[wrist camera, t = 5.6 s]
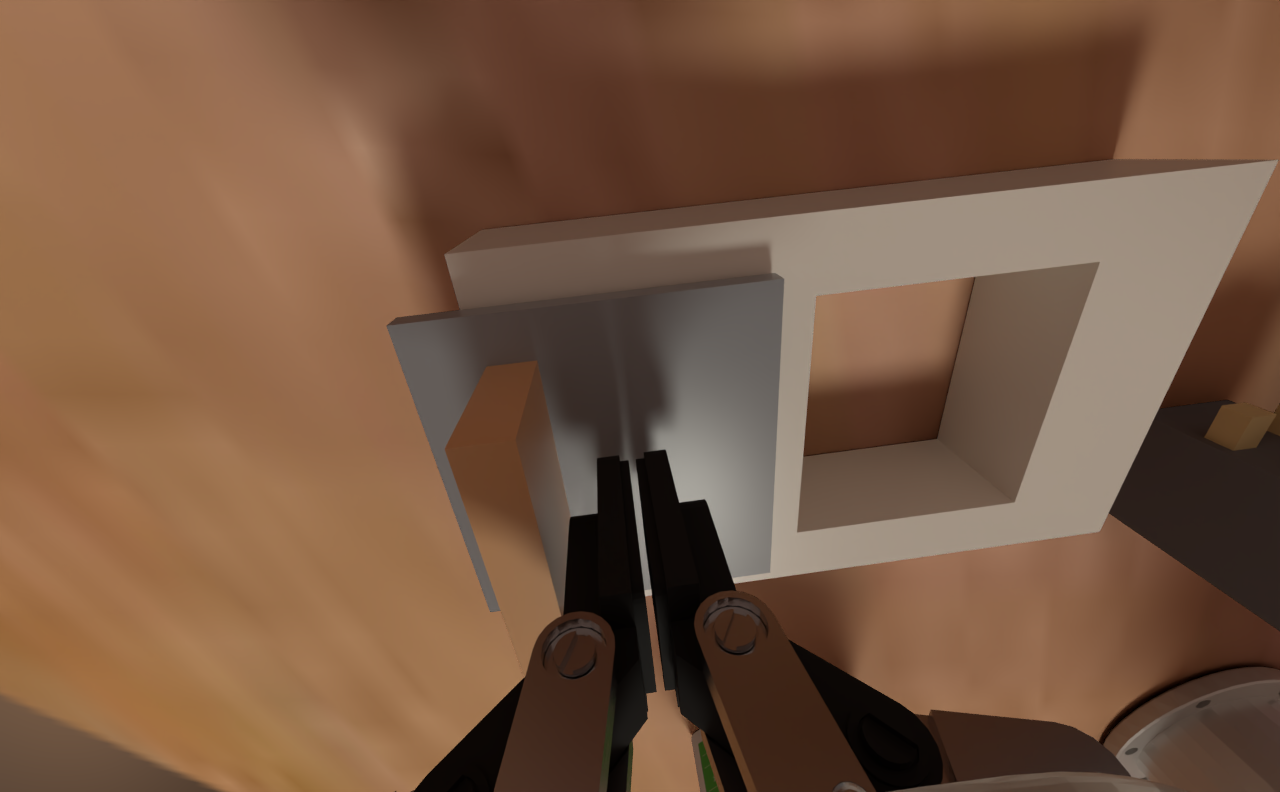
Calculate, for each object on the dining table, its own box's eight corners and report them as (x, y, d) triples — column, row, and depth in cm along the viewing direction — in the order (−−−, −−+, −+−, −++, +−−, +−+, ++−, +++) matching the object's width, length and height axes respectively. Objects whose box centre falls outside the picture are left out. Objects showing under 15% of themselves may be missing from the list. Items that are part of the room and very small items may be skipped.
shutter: (775, 273, 11) (862, 328, 8) (763, 558, 16) (816, 680, 12) (396, 317, 11) (297, 397, 7) (493, 596, 15) (462, 733, 12)
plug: (1243, 369, 19) (1555, 471, 13) (1175, 492, 22) (1403, 622, 16) (1150, 381, 19) (1421, 490, 13) (1095, 503, 22) (1292, 640, 16)
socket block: (1114, 158, 15) (1279, 159, 11) (1011, 466, 20) (1099, 531, 17) (481, 230, 14) (443, 254, 11) (553, 528, 20) (544, 610, 16)
